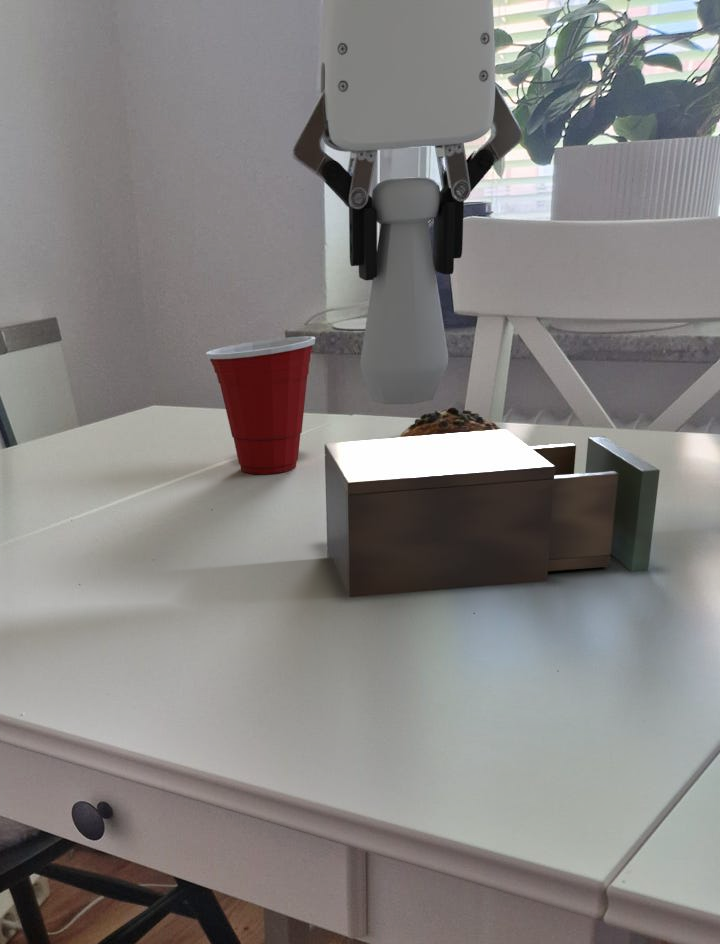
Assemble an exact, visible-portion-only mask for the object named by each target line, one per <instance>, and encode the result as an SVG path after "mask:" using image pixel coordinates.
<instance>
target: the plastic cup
mask: <svg viewBox="0 0 720 944" xmlns="http://www.w3.org/2000/svg"><path fill="white" fill-rule="evenodd" d="M315 343H316V337H315V336H307V335H306V336H291V337H281V338H271V339H265V340H264V339H263V340H258V341H251V342H244V343H238V344H233V345H228V346H224V347H220V348H215V349H211V350H209V351H206V353H205V356H206V358H207V359H209V360H210V363H211V365H212V366H213V370H214V373H215V374H216V379H217V380H218V384H219V386H220V390H221V395H222V400H223V403H224V408H225V412H226V416H227V419H228V424H229V429H230V433H231V437H232V438H233V441H234V447H235V451H236V456H237V462H238V464H239V466H240V470H241V472H244V473H248V474H251V475H253V474H255V475H265V474H266V475H268V474H269V475H270V474H278V473H284V472H285V473H286V472H288V471H292V470H294V469H296V468H297V462H298V460H299V452H300V442H301V434H302V433H303V422H304V415H305V414H304V412H305V403H306V395H307V384H308V375H309V373H310V363H311V354H312V352H313V351H312V350H313V345H315Z"/></svg>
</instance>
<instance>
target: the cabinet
mask: <svg viewBox="0 0 720 944" xmlns="http://www.w3.org/2000/svg"><path fill="white" fill-rule="evenodd" d="M530 447H531V446H530V445H528V444H526V443H525V442H523V441H522V440H521V439H519V438H518V437H517V436H516V435H514V434H513V433H512V432H510V431H509V430H507V429H500V430H492V431H480V432H467V433H454V434H441V435H428V436H416V437H403V438H400V437H393V438H380V439H379V438H378V439H367V440H366V439H365V440H354V441H353V440H352V441H339V442H328V443H324V477H325V478H324V480H325V482H324V483H325V514H326V515H325V516H326V517H325V520H326V521H325V522H326V548H327V549H326V553H327V559H332V562H333V564H334V565H335V568H336V571H337V572H338V574H339V577H340V580H341V581H342V583H343V586H344V588H345V590H346V593H347V596H348V598H359V597H372V596H383V595H384V596H385V595H395V594H397V595H398V594H409V593H420V592H421V593H422V592H433V591H444V590H445V591H446V590H447V591H448V590H458V589H471V588H472V589H473V588H482V587H484V588H485V587H495V586H508V585H521V584H533V583H544V582H548V573H549V571H548V561H549V547H550V533H551V520H552V506H553V492H554V478H555V466H554V465H553V464H551V463H550V462H549V461H547V460H546V459H545V458H543V457H542V456H541V455H539V454H538V453H537V452H535V451H534V450H533V449H531V448H530Z"/></svg>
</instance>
